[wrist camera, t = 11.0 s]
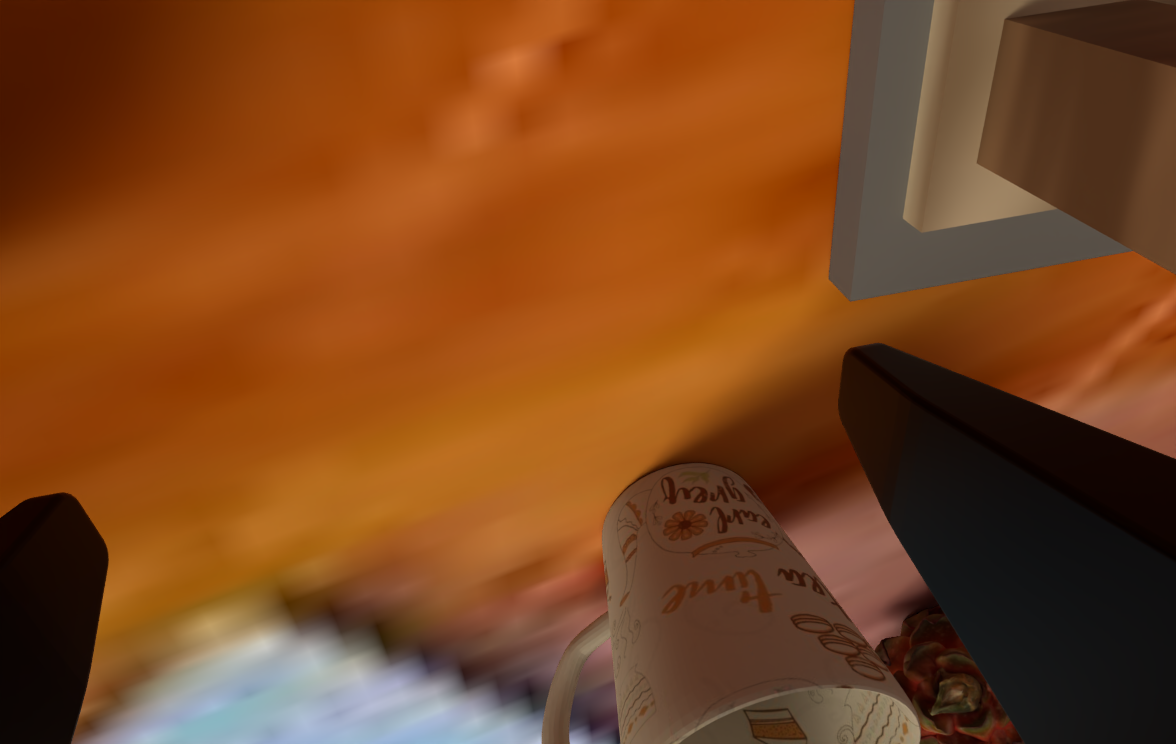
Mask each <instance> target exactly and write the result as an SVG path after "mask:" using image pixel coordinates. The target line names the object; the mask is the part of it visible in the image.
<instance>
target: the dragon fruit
mask: <svg viewBox="0 0 1176 744" xmlns="http://www.w3.org/2000/svg"><path fill="white" fill-rule="evenodd" d="M875 653H876V654H877V655H878V657H879V658H880V659H881V661H882V662H883V663H884V664H885V666H886V667H887V668H888V670H889V671H890V672H891V674H892V675H893V677H894V678H895V679H896V681H897V682H898V683H899V685H900V686H901V688H902V689H903V691H904V692H905V694H906V695H907V697H908V698H909V700H910V701H911V703H912V705H913V707H914V709H915V710H916V713H917V716H918V718H919V721H920V726H921V738H920V744H1024V742H1023V740H1022V739H1021V737H1020V735H1019V734H1018V732H1017V731H1016V729H1015V727H1014V726H1013V724H1012V722H1011V721H1010V719H1009V718H1008V716H1007V714H1006V713H1005V711H1004V709H1003V708H1002V706H1001V705H1000V703H999V701H998V700H997V698H996V697H995V695H994V693H993V692H992V690H991V688H990V687H989V685H988V684H987V682H986V680H985V679H984V677H983V675H982V674H981V672H980V671H979V669H978V667H977V666H976V664H975V662H974V661H973V659H972V658H971V656H970V654H969V653H968V651H967V649H966V648H965V646H964V645H963V643H962V641H961V640H960V638H959V636H958V635H957V633H956V632H955V630H954V628H953V627H952V625H951V623H950V622H949V620H948V619H947V617H946V615H945V614H944V612H943V610H942V609H941V607H940V606H937V607H934V608H932V609H925V610H923V611H921V612H920V613H919V614H916V615H913V616H912V617H911V618H908V619H906V620H904V622H903V624H902V629H901V636H897V637H891V638H885V639H884V640H881V642H880V644H879V645H878V646H877V647H876V649H875Z"/></svg>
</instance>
